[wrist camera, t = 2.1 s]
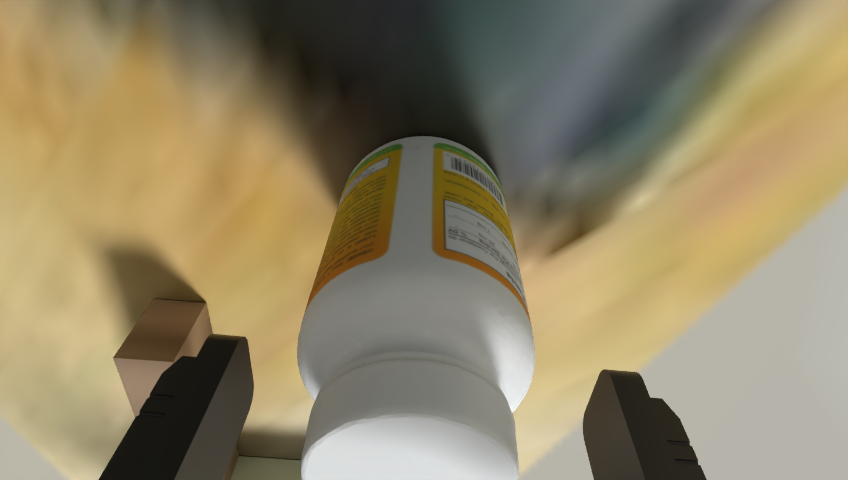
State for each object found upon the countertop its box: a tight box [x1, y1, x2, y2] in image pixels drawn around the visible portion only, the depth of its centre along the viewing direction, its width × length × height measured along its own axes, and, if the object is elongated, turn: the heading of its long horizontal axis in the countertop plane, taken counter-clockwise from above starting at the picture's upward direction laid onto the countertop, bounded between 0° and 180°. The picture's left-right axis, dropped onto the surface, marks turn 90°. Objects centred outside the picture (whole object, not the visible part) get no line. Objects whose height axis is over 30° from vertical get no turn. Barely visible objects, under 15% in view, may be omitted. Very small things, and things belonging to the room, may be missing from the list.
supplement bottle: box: [297, 136, 535, 480], centre depth 13 cm, size 5×5×10 cm
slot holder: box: [113, 299, 302, 480], centre depth 22 cm, size 12×11×3 cm
